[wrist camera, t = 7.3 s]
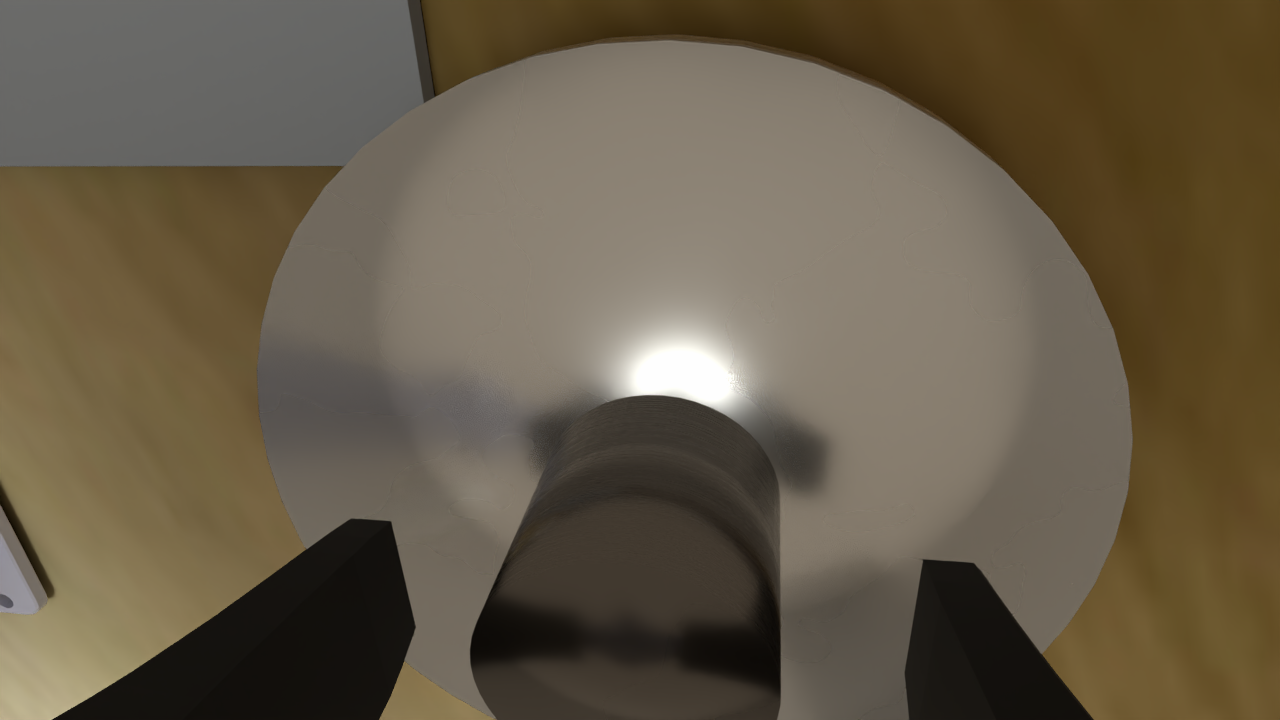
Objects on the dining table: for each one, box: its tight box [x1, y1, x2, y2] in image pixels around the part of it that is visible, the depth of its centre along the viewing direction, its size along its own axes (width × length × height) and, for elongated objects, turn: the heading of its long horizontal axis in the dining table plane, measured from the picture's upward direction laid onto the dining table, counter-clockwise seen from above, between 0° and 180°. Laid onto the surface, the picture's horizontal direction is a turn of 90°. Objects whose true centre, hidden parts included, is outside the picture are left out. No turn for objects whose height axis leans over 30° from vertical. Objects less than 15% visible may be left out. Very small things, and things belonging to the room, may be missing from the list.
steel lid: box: [257, 34, 1133, 720], centre depth 11 cm, size 13×13×4 cm
